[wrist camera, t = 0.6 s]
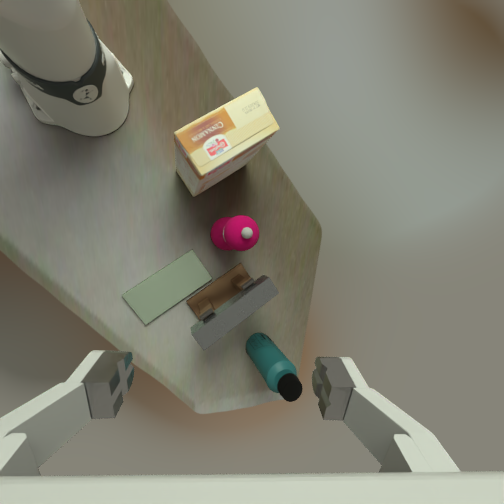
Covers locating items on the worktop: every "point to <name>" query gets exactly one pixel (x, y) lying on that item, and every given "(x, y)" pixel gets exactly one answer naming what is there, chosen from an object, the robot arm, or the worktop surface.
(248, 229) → the pepper mill
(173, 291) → the mat
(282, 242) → the worktop surface
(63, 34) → the robot arm
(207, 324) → the rail
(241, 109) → the coffeecake box
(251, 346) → the beverage bottle
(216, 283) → the stand
